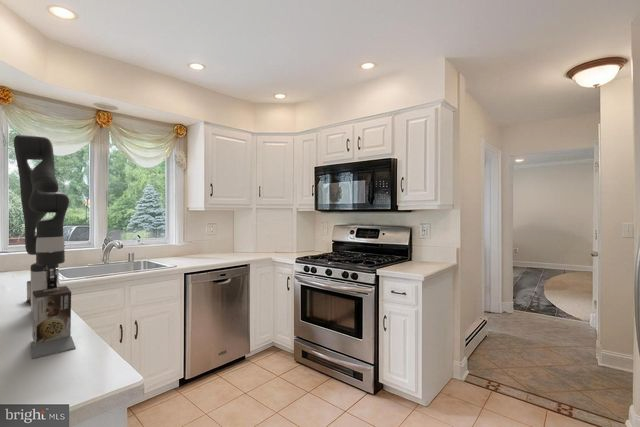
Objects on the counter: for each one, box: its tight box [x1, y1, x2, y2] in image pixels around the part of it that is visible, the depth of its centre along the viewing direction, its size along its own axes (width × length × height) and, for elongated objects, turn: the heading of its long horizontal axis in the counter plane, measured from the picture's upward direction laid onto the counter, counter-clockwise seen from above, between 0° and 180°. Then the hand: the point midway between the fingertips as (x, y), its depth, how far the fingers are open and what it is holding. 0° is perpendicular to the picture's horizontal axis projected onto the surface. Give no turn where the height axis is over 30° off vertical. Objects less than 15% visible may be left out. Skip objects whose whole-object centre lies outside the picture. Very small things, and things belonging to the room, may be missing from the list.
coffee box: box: [31, 285, 72, 344], centre depth 106 cm, size 9×6×16 cm
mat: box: [31, 336, 76, 360], centre depth 99 cm, size 12×10×1 cm
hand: (51, 300), depth 109 cm, fingers closed
